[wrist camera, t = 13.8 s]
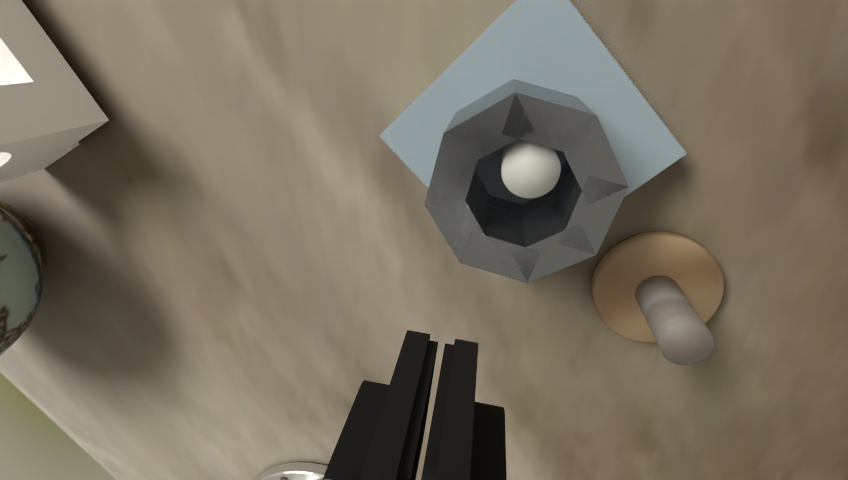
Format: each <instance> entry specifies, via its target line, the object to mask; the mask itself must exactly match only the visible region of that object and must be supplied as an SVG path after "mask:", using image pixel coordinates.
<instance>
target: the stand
mask: <svg viewBox="0 0 848 480" xmlns="http://www.w3.org/2000/svg"><path fill="white" fill-rule="evenodd" d="M591 289H592V296H593V300H594V303H595V306H596V309H597V311H598V314H599V315H600V317H601V319H602V320H603V321H604V323H605V324H606V325H607V326H608V327H609V328H610V329H612V330H613V331H614V332H616V333H618V334H619V335H621V336H623V337H626V338H628V339H632V340H635V341H641V342H657V344H658V346H659V348H660V350H661V352H662V354H663V356H664V357H665V358H666V359H667V360H669V361H670V362H672V363H675V364H679V365H691V364H695V363H698V362H700V361H702V360H704V359H705V358H707V357H708V356H709V355H710V354H711V352H712V350H713V348H714V338H713V336H712V334H711V333H710V331H709V330H708V328H707V327H706V325H705V323H706V322H707V321H708V320H709V319H710V318H711V317H712V315H713V314H714V313H715V311H716V310H717V308H718V306H719V304H720V302H721V300H722V296H723V290H724V280H723V275H722V272H721V270H720V267H719V265H718V264H717V262H716V261H715V260H714V258H713V257H712V256H711V255H710V254H709V253H708V252H707V251H706V250H705V249H704V248H703V246H701V245H700V244H699V243H698V242H696V241H695V240H693V239H691V238H689V237H687V236H684V235H682V234H678V233H674V232H667V231H654V232H646V233H641V234H638V235H635V236H632V237H629V238H627V239H625V240H623V241H621V242H620V243H618V244H616V245H615V246H614V247H612V248H611V249H610V250H609V251H608V252H607V253H606V254H605V255H604V256H603V257H602V259H601V260H600V261H599V263H598V265H597V266H596V269H595V271H594V274H593V277H592V284H591Z"/></svg>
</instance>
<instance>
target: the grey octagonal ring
mask: <svg viewBox="0 0 848 480" xmlns="http://www.w3.org/2000/svg"><path fill="white" fill-rule="evenodd" d="M517 139H520V140H524V141H527V142H531V143H534V144H538V145H541V146H545V147H548V148H552V149H555V150H559V151H562V152H563V153H564V155H565V157H566V158H565V161H564V163H563V166H562V168H561V172H560V177H559V179H558V181H557V183H556V185H555V186H554V188H553V190H551V191H549V192H548V193H546V194H544V195H542V196H540V197H536V198H534V199H532V200H530V201H528V202H526V203H524V204H522V205H521V204H518V203H515V202H511V201H508V200H504V199H501V198H498V197H494V196H491V195H489V194H488V192H487V190H486V188H485V186H484V185H483V183H482V181H481V179H480V177H479V176H478V174H477V172H476V170H475V168H476V164H477V161H478V160H480V159H481V158H483V157H485V156H487V155H489V154H491V153H493V152H495V151H497V150H499V149H500V148H502V147H504V146H506V145H508V144H510V143H512V142H514V141H516V140H517ZM628 188H629V186H628V183H627V181H626V179H625V177H624V175H623V172H622V170H621V168H620V166H619V163H618V161H617V159H616V157H615V155H614V152H613V150H612V148H611V146H610V143H609V141H608V139H607V137H606V134H605V132H604V130H603V128H602V126H601V123H600V121H599V119H598V117H597V115H596V114H595V113H594V112H593V111H592V110H591V109H590V108H588V107H587V106H586V105H585V104H584V103H583V102H582V101H581V100H580V99H579V98H578V97H576V96H573V95H569V94H566V93H562V92H559V91H555V90H552V89H548V88H544V87H541V86H537V85H534V84H530V83H527V82H523V81H520V80H516V79H512V80H510V81H509V82H507V83H505V84H503V85H502V86H500V87H498V88H497V89H495V90H493V91H491V92H490V93H488V94H486V95H484V96H483V97H481V98H479V99H478V100H476V101H474V102H472V103H471V104H469V105H467V106H465V107H464V108H462V109H460V110H459V111H457V112H456V113H455V115H454V117H453V118H452V120H451V122H450V123H449V125H448V126H447V128H446V130H445V131H444V133H443V137H442V140H441V144H440V148H439V151H438V155H437V159H436V163H435V166H434V170H433V174H432V178H431V181H430V185H429V189H428V193H427V196H426V200H425V206H426V208H427V209H428V211H429V213H430V214H431V216H432V218H433V219H434V221H435V222H436V224H437V226H438V227H439V229H440V231H441V232H442V234H443V236H444V237H445V239H446V241H447V242H448V244H449V246H450V247H451V249H452V251H453V252H454V254H455V255H456V257H457V259H458V260H459V262H460V263H462V264H466V265H469V266H472V267H476V268H479V269H482V270H486V271H489V272H492V273H496V274H499V275H502V276H506V277H509V278H512V279H516V280H519V281H522V282H526V283H529V282H532V281H534V280H537V279H539V278H541V277H544V276H546V275H549V274H551V273H554V272H556V271H559V270H561V269H563V268H566V267H568V266H571V265H573V264H576V263H578V262H581V261H583V260H585V259H588V258H590V257H593V256H595V255H597V253H598V251H599V249H600V246H601V244H602V242H603V240H604V238H605V236H606V234H607V232H608V230H609V228H610V226H611V223H612V221H613V219H614V217H615V215H616V213H617V211H618V209H619V207H620V205H621V202H622V200H623V198H624V196H625V194H626V192H627V190H628Z"/></svg>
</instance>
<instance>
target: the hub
mask: <svg viewBox="0 0 848 480" xmlns="http://www.w3.org/2000/svg"><path fill="white" fill-rule="evenodd" d="M512 79H516V80H520V81H523V82H527V83H530V84H534V85H537V86H541V87H544V88H548V89H552V90H555V91H559V92H562V93H566V94H569V95H573V96H576V97H578V98H579V99H580V100H581V101H582V102H583V103H584V104H585V105H586V106H587V107H588V108H590V109H591V110H592V111H593V112H594V113H595V114H596V115H597V117H598V119H599V121H600V123H601V126H602V128H603V130H604V132H605V134H606V137H607V139H608V141H609V143H610V146H611V148H612V150H613V152H614V155H615V157H616V159H617V161H618V163H619V166H620V168H621V170H622V172H623V175H624V177H625V179H626V181H627V183H628V186H629V188H628V190H627V192H626V194H625V196H627V195H628V194H630V193H631V192H633V191H634V190H635V189H637V188H638V187H640V186H641V185H643V184H644V183H646V182H647V181H648V180H650V179H651V178H653V177H654V176H656V175H657V174H658V173H660V172H661V171H663V170H664V169H666V168H667V167H669V166H670V165H671V164H673V163H674V162H676V161H677V160H679V159H680V158H681V157H683V156H684V155H686V154H687V153H686V152H685V151H684V149H683V148H682V147H681V145H680V144H679V143H678V142H677V140H676V139H675V138H674V136H673V135H672V134H671V132H670V131H669V130H668V128H667V127H666V126H665V125H664V123H663V122H662V121H661V119H660V118H659V117H658V115H657V114H656V113H655V111H654V110H653V109H652V108H651V106H650V105H649V104H648V102H647V101H646V100H645V98H644V97H643V96H642V94H641V93H640V92H639V90H638V89H637V88H636V87H635V85H634V84H633V83H632V81H631V80H630V79H629V77H628V76H627V75H626V73H625V72H624V71H623V70H622V68H621V67H620V66H619V64H618V63H617V62H616V60H615V59H614V58H613V56H612V55H611V54H610V53H609V51H608V50H607V49H606V47H605V46H604V45H603V43H602V42H601V41H600V39H599V38H598V37H597V36H596V34H595V33H594V32H593V30H592V29H591V28H590V26H589V25H588V24H587V22H586V21H585V20H584V19H583V17H582V16H581V15H580V13H579V12H578V11H577V9H576V8H575V7H574V5H573V4H572V3H571V2H570V0H516V1H515V2H514V3H513V4H512V5H511V6H510V7H509V8H508V9H507V10H506V11H505V12H503V13H502V14H501V15H500V16H499V17H498V18H497V19H496V20H495V21H494V22H493V23H492V24H491V25H490V26H489V27H488V28H487V29H486V30H485V31H484V32H483V33H482V34H481V35H480V36H479V37H478V38H477V39H476V40H475V41H474V42H473V43H472V44H471V45H470V46H469V47H468V48H467V49H466V50H465V51H464V52H463V53H462V54H461V55H460V56H459V57H458V58H457V59H456V60H455V61H454V62H453V63H452V64H451V65H450V66H449V67H448V68H447V69H446V70H445V71H444V72H443V73H442V74H441V75H440V76H439V77H438V78H437V79H436V80H435V81H434V82H433V83H432V84H431V85H430V86H429V87H428V88H427V89H426V90H425V91H424V92H423V93H422V94H421V95H420V96H419V97H418V98H417V99H416V100H415V101H414V102H413V103H412V104H411V105H410V106H409V107H408V108H407V109H406V110H405V111H404V112H403V113H402V114H401V115H400V116H399V117H398V118H397V119H396V120H395V121H394V122H393V123H392V124H391V125H390V126H389V127H388V128H387V129H386V130H384V131H383V132H382V133H381V134H380V135H379V136H380V137H381V138H382V139H383V141H384V142H385V143H386V144H387V145H388V146H389V147H390V148H391V149H392V150H393V151H394V152H395V153H396V154H397V156H398V157H399V158H400V159H401V160H402V161H403V162H404V163H405V164H406V165H407V166H408V167H409V168H410V169H411V170H412V172H413V173H414V174H415V175H416V176H417V177H418V178H419V179H420V180H421V181H422V182H423V183H424V184H425V185H426V187H427V188H428V189H429V185H430V181H431V178H432V174H433V170H434V166H435V163H436V159H437V155H438V151H439V148H440V144H441V140H442V137H443V133H444V131H445V130H446V128H447V126H448V125H449V123H450V122H451V120H452V118H453V117H454V115H455V113H456V112H457V111H459V110H460V109H462V108H464V107H465V106H467V105H469V104H471V103H472V102H474V101H476V100H478V99H479V98H481V97H483V96H484V95H486V94H488V93H490V92H491V91H493V90H495V89H497V88H498V87H500V86H502V85H503V84H505V83H507V82H509V81H510V80H512ZM565 158H566V157H565V155H564V153H563V152H562V151H559V150H555V149H552V148H548V147H545V146H541V145H538V144H534V143H531V142H527V141H524V140H520V139H517V140H516V141H514V142H512V143H510V144H508V145H506V146H504V147H502V148H500V149H499V150H497V151H495V152H493V153H491V154H489V155H487V156H485V157H483V158H481V159H480V160H478V161H477V164H476V168H475V170H476V172H477V174H478V176H479V177H480V179H481V181H482V183H483V185H484V186H485V188H486V190H487V192H488V194H489V195H491V196H494V197H498V198H501V199H504V200H508V201H511V202H515V203H518V204H521V205H522V204H524V203H526V202H528V201H530V200H532V199H534V198H536V197H540V196H542V195H544V194H546V193H548V192H549V191H551V190H553V188H554V186H555V185H556V183H557V181H558V179H559V177H560V172H561V168H562V166H563V163H564V161H565ZM625 196H624V197H625Z"/></svg>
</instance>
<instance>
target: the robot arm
mask: <svg viewBox="0 0 848 480" xmlns="http://www.w3.org/2000/svg"><path fill="white" fill-rule="evenodd" d="M429 340H430V334H426V333H420V332H415V331H409V330H408V331H407V333H406V336H405V339H404V342H403V345H402V348H401V351H400V354H399V357H398V361H397V364H396V367H395V370H394V373H393V376H392V379H391V382H390V385H386V384H381V383H376V382H371V381H365V380H364V381H363V382H362V384H361V386H360V388H359V391H358V393H357V396H356V398H355V401H354V403H353V406H352V408H351V411H350V413H349V415H348V418H347V420H346V423H345V425H344V428H343V430H342V433H341V435H340V437H339V440H338V442H337V445H336V447H335V450H334V452H333V455H332V457H331V459H330V462H329V464H328V466H326V465H322V464H316V463H309V462H294V463H286V464H281V465H278V466H275V467H272V468H270V469H268V470H267V471H265V472H263V473H262V474H261V475H260V476H259V477H258V478H257V479H256V480H415V479H416V474H417V468H418V463H419V458H420V453H421V447H422V442H423V436H424V430H425V424H426V417H427V411H428V404H429V398H430V391H431V385H432V378H433V372H434V365H435V359H436V352H437V346H438V342H435V341H429ZM477 356H478V343H475V342H470V341H464V340H459V339H455V343H454V345H451V344H446V343H445V348H444V353H443V359H442V365H441V370H440V376H439V382H438V388H437V393H436V399H435V405H434V410H433V416H432V422H431V427H430V433H429V439H428V445H427V450H426V456H425V462H424V467H423V473H422V479H421V480H506V446H505V412H504V408H503V407H499V406H494V405H489V404H483V403H478V402H475V388H476V372H477Z"/></svg>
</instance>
